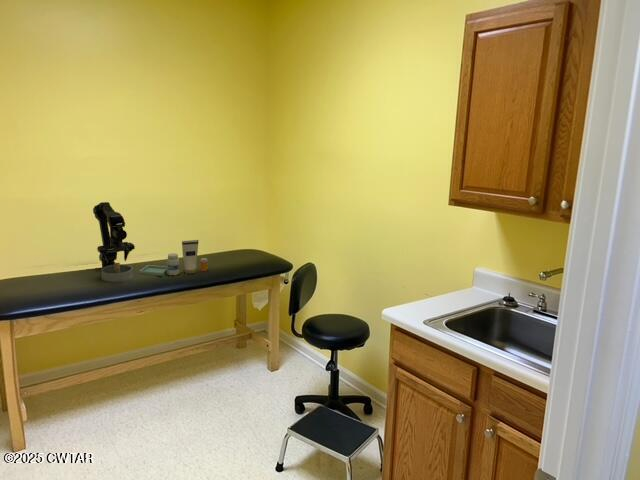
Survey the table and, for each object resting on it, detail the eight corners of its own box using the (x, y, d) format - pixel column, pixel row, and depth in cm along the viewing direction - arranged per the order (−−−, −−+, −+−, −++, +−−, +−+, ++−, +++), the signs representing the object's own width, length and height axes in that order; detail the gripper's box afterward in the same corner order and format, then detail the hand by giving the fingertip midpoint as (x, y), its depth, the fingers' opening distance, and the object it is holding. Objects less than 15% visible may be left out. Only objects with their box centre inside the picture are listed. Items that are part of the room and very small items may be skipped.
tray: (139, 274, 267) (139, 270, 267) (148, 268, 279) (147, 264, 278) (162, 276, 267) (162, 273, 266) (170, 270, 278) (170, 266, 277)
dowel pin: (113, 277, 258) (113, 264, 256) (116, 275, 261) (115, 262, 259) (118, 277, 258) (118, 264, 256) (121, 276, 261) (120, 262, 259)
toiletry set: (168, 276, 268) (167, 243, 263) (165, 272, 274) (164, 240, 269) (209, 272, 281) (209, 240, 276) (205, 268, 287) (206, 237, 282)
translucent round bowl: (95, 281, 252) (95, 272, 251) (111, 272, 268) (110, 263, 267) (124, 284, 251) (124, 274, 250) (138, 274, 268) (137, 265, 266)
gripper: (102, 241, 242) (103, 268, 246) (137, 237, 254) (138, 263, 258) (96, 236, 250) (97, 263, 254) (130, 232, 262) (131, 258, 266)
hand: (116, 262), depth 258 cm, fingers open, 9 cm apart
